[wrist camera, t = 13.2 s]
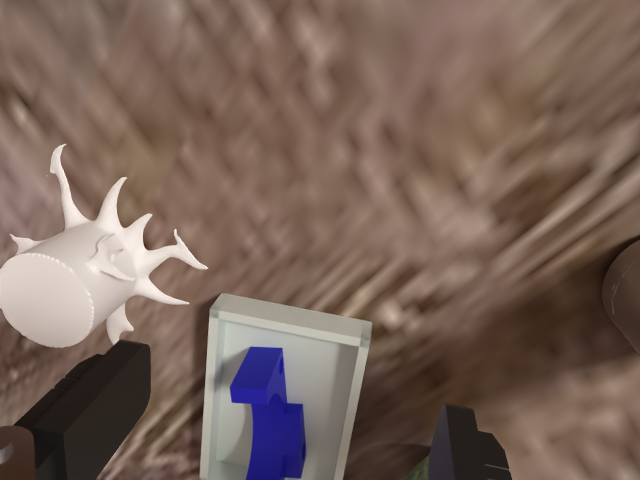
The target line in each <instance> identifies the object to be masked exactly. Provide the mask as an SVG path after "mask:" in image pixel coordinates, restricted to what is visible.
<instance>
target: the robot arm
mask: <svg viewBox="0 0 640 480" xmlns="http://www.w3.org/2000/svg"><path fill="white" fill-rule="evenodd" d="M602 300H603V304H604V308H605V310H606V312H607V314H608V316H609V317H610V319H611V320H612V321H613V323H614V324H615V325H616V326H617V328H618V329H619V330H620V331H621V333H622V334H623V335H624V336H625V338H626V339H627V340H628V341H629V343H630V344H631V345H632V347H633V348H634V349H635V350H636V352H637V353H638V354H639V355H640V240H638V241H637V242H635V243H633V244H631V245H630V246H628V247H627V248H626V249H625V250H624V251H623V252H621V253H620V254H619V255H618V256H617V258H616V259H615V260H614V261H613V263H612V264H611V265H610V267H609V269H608V271H607V273H606V275H605V278H604V282H603V286H602ZM150 392H151V363H150V347H149V345H147V344H142V343H137V342H132V341H127V340H119V341H118V342H117V343H116V344H115V345H114V346H113V347H112V348H111V349H110V350H109V351H108V352H107V353H106V354H105V355H100V354H96V355H94V356H92V357H90V358H88V359H86V360H84V361H82V362H80V363H78V364H77V365H76V366H75V367H74V368H73V369H72V370H71V371H70V372H69V373H68V374H67V375H66V376H65V379H64V378H63V379H62V380H61V381H59V382H58V383H57V384H56V385H55V387H54V389H51V390H50V391H49V392H48V393H47V394H46V395H45V396H44V397H43V398H42V399H40V400H39V401H38V402H37V403H36V404H35V405H34V406H33V407H32V408H31V409H30V410H29V411H28V412H27V413H26V414H25V415H24V416H23V417H21V418H20V419H19V420H18V421H17V422H16V423H15V424H14V425H13V426H1V427H0V480H95V479H96V478H97V477H98V475H99V474H100V473H101V471H102V470H103V468H104V467H105V466H106V464H107V463H108V462H109V460H110V459H111V457H112V456H113V455H114V453H115V452H116V451H117V449H118V448H119V446H120V445H121V444H122V442H123V441H124V439H125V438H126V437H127V435H128V434H129V433H130V431H131V430H132V428H133V427H134V426H135V424H136V423H137V422H138V420H139V419H140V417H141V416H142V415H143V413H144V411H145V409H146V407H147V405H148V402H149V398H150ZM428 480H512V477H511V474H510V472H509V466H508V462H507V458H506V454H505V451H504V449H503V448H502V446H501V445H500V444H499V442H498V441H497V440H496V438H495V437H494V436H493V434H491V433H486V432H481V431H478V429H477V424H476V419H475V414H474V411H473V409H471V408H465V407H460V406H455V405H450V404H445V403H444V404H443V405H442V407H441V410H440V414H439V418H438V422H437V426H436V430H435V434H434V438H433V441H432V445H431V450H430V455H429V464H428Z"/></svg>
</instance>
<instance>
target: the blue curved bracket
mask: <svg viewBox="0 0 640 480" xmlns="http://www.w3.org/2000/svg"><path fill="white" fill-rule="evenodd" d="M230 394H231V402H232V403H243V404H251V407H252V416H253V437H252V449H251V456H250V462H249V467H248V472H247V476H246V480H284V479H285V478H297V479H301V476H302V472H303V468H304V463H305V459H306V455H307V454H306V440H305V426H304V412H303V404H296V403H287V394H286V382H285V370H284V358H283V348H274V347H250V348H249V350H248V352H247V354H246V356H245V358H244V360H243V362H242V364H241V366H240V368H239V370H238V372H237V374H236V376H235V378H234V380H233V382H232V383H231V385H230Z"/></svg>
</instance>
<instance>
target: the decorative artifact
mask: <svg viewBox="0 0 640 480" xmlns="http://www.w3.org/2000/svg"><path fill="white" fill-rule="evenodd" d="M429 455H430V454H428V455H427V456H426V457H425V458H424V459H423V460H422V461H420V462H419V463H418V464H417V465H416V466H415V467H414V468H413V469H411V470H410V471H409V473H408V474H407V476H406V479H405V480H428V464H429Z"/></svg>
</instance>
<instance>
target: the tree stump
mask: <svg viewBox="0 0 640 480" xmlns="http://www.w3.org/2000/svg"><path fill="white" fill-rule="evenodd" d="M65 145H66V144H63V145H61V146H59V147H58V148H56V149H55V150H54V152H53V155H52V158H51V166H50V172H51V173H56V175H57V177H58V179H59V181H60V185H61V200H62V206H63V212H64V219H65V229H64V231H63V232H61V233H59V234H57V235H55V236H53V237H51V238H49V239H46V240H42V241H32V240H31V239H28V238H17V237H14V236H13V235H11V234H10V236H12V239H13V240H14V241H15V242H16V243H17V244H18V251H17V253H16V255H15V257H13V258H11V259H9V260H8V261H7V262H6V263H5V264H4V265H3V267H2V268H1V269H0V308H1V309H2V311H3V313H4V316H5V317H6V319H7V321H8V322H9V323H10V324H11V325H12V326H13V327H14V328H15V329H16V330H18V331H19V332H21V334H22V335H23V336H25V337H27V338H28V339H30V340H33V341H34V342H37V343H38V344H41V345H45V346H49V347H55V348H58V347H60V348H63V347H69V346H73V345H75V344H77V343H79V342H80V341H82V340H83V339H84V338H85V337H86V336H87V335H89V334H90V333H91V332H92V331H93V330H94V329H95V328H96V327H97V326H99V325H100V324H101V323H102V322H103V321H104V320H105V319H106V325H107V332H108V336H109V338H110V340H111V342H112V344H113V346H114V345H115V344H116V343H117V342H118V341H119V336H120V334H121V332H123V331H133V330H134V329H133V327H132V326H131V325H130V323H129V322H128V321H127V319H126V316H125V302H126V301H127V300H128V299H129V298H130V297H131V296H134V295H140V296H144V297H147V298H150V299H153V300H155V301H159V302H162V303H167V304H189V302H185V301H181V300H177V299H174V298H172V297H169V296H167V295H165V294H164V293H162V292H161V291H159V290H158V289H157V288H156V287H155V286H154V285H153V284H152V283H151V281H150V280H149V278H148V276H149V274H150V272H151V271H152V270H153V269H155V268H156V267H157V266H158V265H160V264H161V263H162V262H163V261H165V260H166V259H167V258H169V257H176V258H179V259H181V260H182V261H184V262H186V263H188V264H189V265H191V266H192V267H195V268H198V269H208V268H207V267H206V266H205V265H203V264H201V263H199V262H198V261H197V260H196V259H195V258H194V256H193V255H192V254H191V253H190V252H189V250H188V248H187V247H186V246H185V244H184V243H183V242H182V240H181V239H180V237H178V236H177V231H176V229H175V230H174V235H175V238H176V240H177V242H178V244H177V245H176V246H166V247H163V248H160V249H157V250H152V251H149V250H146V249H145V247H144V245H143V230H144V227H145V225H146V223H147V222H148V220H149V219H150V217H151V216H152V215H153V214H146V215H144V216H143V217H141V218H139V219H138V220H136V221H135V222H134V223H133V224H132V225H130V226H129V227H127V228H123V227H122V226H121V225H120V222H119V219H118V216H117V209H116V204H117V197H118V194H119V190H120V188H121V186H122V184H123V182H124V181H125V179H126V178H127V177H122V178H121V179H119V180H118V182H117V183H116V184H115V185H113V187H112V188H111V190H110V191H109V192H108V194H107V196H106V198H105V200H104V202H103V205H102V207H101V210H100V213H99V216H98V217H97V219H96V220H95V221H90V220H88V219H86V218H85V217H84V216H83V215H82V214H81V213H80V212H79V211H78V209H77V208H76V207H75V205H74V203H73V201H72V199H71V194H70V189H69V185H68V182H67V179H66V176H65V174H64V171H63V169H62V166H61V163H60V155H61V152H62V148H63V147H64V146H65ZM46 176H48V175H46Z"/></svg>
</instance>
